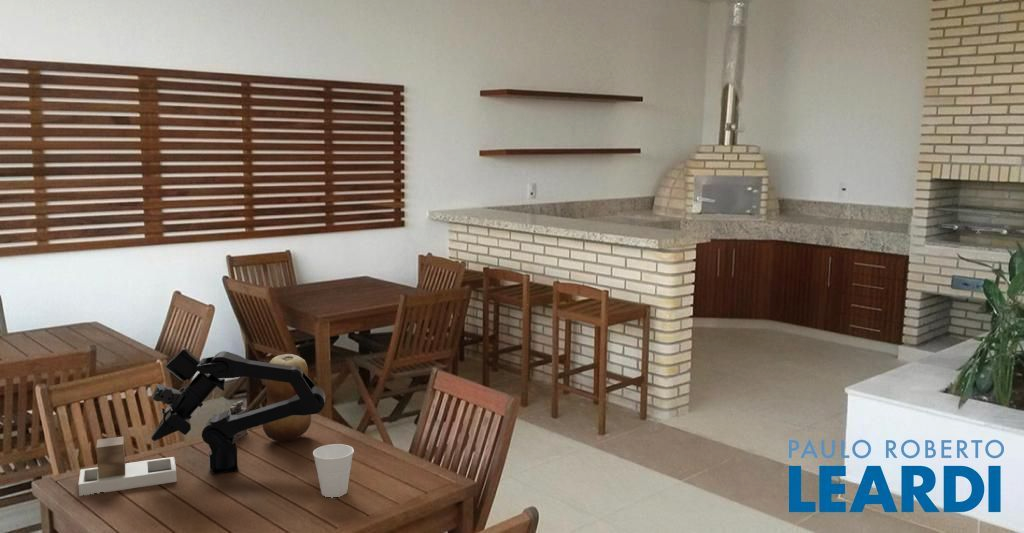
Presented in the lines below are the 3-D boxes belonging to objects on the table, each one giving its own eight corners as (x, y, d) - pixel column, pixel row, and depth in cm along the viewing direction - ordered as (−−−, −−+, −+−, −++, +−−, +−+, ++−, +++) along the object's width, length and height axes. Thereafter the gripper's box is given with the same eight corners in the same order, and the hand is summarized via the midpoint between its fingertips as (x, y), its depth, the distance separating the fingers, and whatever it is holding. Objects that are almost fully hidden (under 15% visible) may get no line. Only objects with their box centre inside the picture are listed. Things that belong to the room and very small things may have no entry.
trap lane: (174, 467, 219) (174, 456, 218) (176, 481, 210) (176, 470, 209) (81, 480, 209) (80, 469, 209) (79, 496, 200) (78, 484, 200)
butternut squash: (286, 452, 230) (283, 365, 226) (253, 442, 237) (250, 358, 233) (322, 437, 242) (320, 354, 238) (289, 428, 249) (287, 348, 245)
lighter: (235, 441, 238) (234, 408, 236) (225, 440, 239) (223, 407, 237) (249, 431, 246) (248, 399, 244) (239, 431, 246) (238, 398, 245)
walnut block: (125, 466, 211) (123, 436, 210) (125, 474, 206) (123, 444, 205) (99, 469, 209) (97, 439, 208) (98, 478, 204) (96, 447, 202)
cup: (319, 505, 197) (318, 461, 195) (309, 489, 206) (308, 447, 204) (359, 497, 201) (359, 454, 200) (348, 482, 210) (347, 441, 208)
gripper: (169, 364, 218) (126, 410, 215) (173, 383, 202) (127, 433, 199) (202, 389, 223) (160, 434, 220) (209, 409, 206) (164, 459, 203)
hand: (152, 439), depth 210 cm, fingers closed
